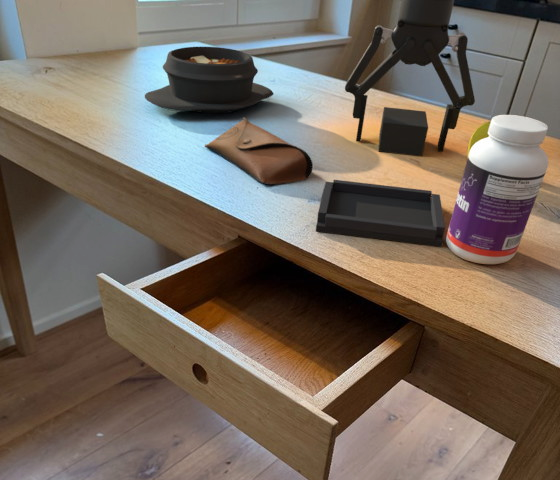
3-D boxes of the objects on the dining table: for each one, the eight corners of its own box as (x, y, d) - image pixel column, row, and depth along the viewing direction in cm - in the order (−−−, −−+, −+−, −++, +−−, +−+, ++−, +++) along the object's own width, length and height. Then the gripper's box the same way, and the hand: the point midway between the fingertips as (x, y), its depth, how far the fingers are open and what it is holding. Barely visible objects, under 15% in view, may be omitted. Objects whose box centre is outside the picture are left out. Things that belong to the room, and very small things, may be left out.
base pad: (435, 206, 75) (439, 191, 74) (441, 247, 66) (446, 231, 65) (324, 193, 77) (326, 178, 75) (315, 231, 67) (317, 215, 66)
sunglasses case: (199, 144, 87) (218, 102, 85) (232, 161, 92) (251, 122, 90) (264, 185, 76) (287, 138, 74) (297, 202, 81) (320, 158, 79)
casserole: (182, 129, 93) (179, 73, 88) (126, 101, 104) (120, 50, 98) (294, 109, 107) (297, 59, 101) (234, 86, 117) (235, 39, 112)
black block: (419, 138, 97) (425, 111, 94) (422, 156, 90) (428, 127, 87) (379, 134, 98) (383, 106, 95) (378, 151, 91) (383, 122, 88)
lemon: (497, 184, 83) (515, 127, 78) (459, 177, 84) (474, 121, 79) (499, 172, 87) (516, 117, 82) (463, 165, 88) (477, 111, 83)
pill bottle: (446, 231, 70) (479, 106, 60) (513, 243, 68) (557, 117, 59) (441, 260, 64) (477, 127, 54) (514, 274, 62) (564, 140, 53)
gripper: (340, -15, 78) (322, 142, 92) (522, 3, 77) (477, 160, 90) (343, -20, 84) (326, 128, 98) (513, -4, 82) (472, 145, 96)
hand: (399, 143), depth 94 cm, fingers open, 13 cm apart
